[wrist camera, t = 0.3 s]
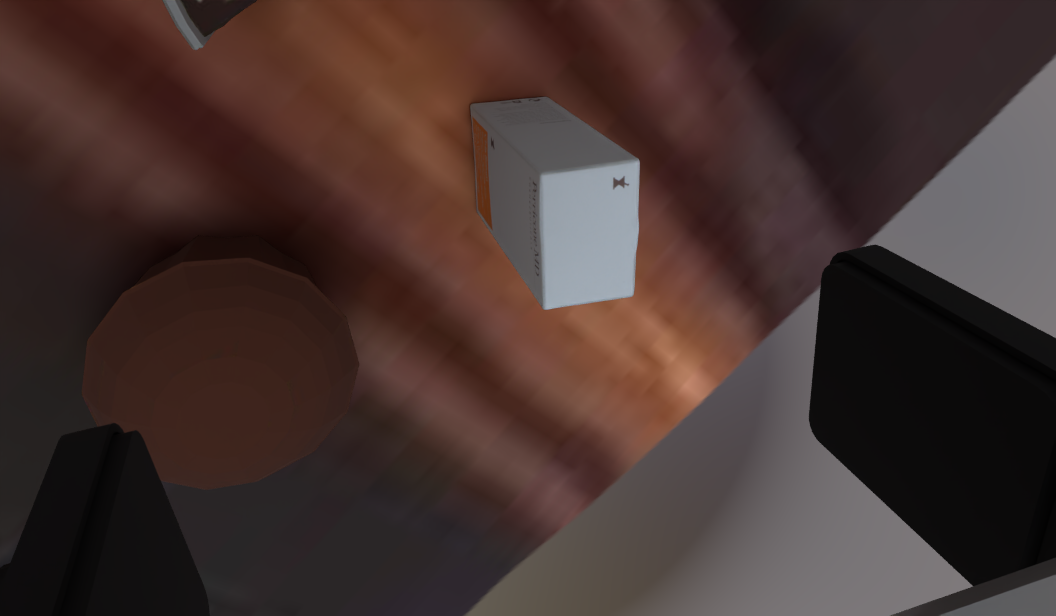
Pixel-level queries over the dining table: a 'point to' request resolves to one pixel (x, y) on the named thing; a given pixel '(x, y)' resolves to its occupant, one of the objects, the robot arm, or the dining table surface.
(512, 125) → the skincare box
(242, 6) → the food container
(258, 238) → the muffin
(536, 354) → the dining table surface
